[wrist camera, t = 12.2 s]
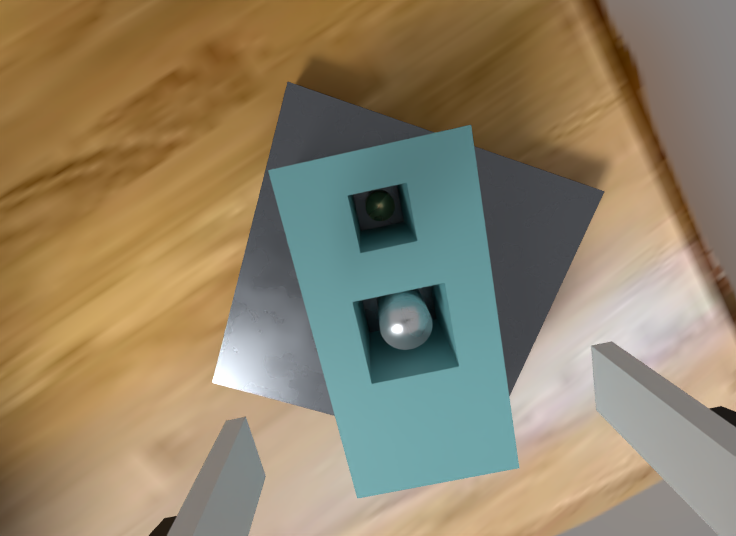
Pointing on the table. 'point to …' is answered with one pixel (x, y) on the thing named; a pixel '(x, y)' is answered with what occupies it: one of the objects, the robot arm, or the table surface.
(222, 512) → the robot arm
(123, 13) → the table surface
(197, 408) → the table surface
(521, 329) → the base
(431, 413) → the teal block with holes
